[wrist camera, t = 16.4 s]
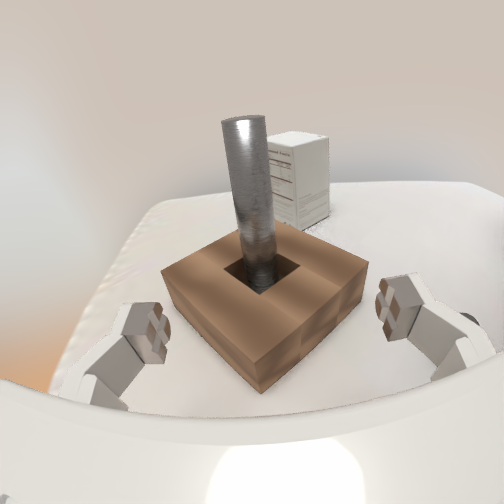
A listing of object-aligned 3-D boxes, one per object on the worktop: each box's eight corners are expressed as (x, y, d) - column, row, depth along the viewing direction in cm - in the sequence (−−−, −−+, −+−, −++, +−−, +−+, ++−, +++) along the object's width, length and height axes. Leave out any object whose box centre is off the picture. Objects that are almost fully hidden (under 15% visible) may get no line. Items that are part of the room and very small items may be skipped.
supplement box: (297, 202, 46) (292, 129, 39) (330, 216, 41) (330, 136, 34) (263, 217, 43) (254, 138, 36) (296, 234, 38) (292, 145, 31)
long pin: (266, 291, 29) (245, 114, 19) (286, 305, 27) (273, 115, 17) (245, 306, 28) (212, 122, 18) (265, 321, 26) (239, 122, 16)
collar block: (268, 249, 36) (265, 215, 33) (361, 300, 26) (368, 261, 24) (174, 306, 29) (160, 271, 26) (260, 394, 20) (254, 362, 17)
